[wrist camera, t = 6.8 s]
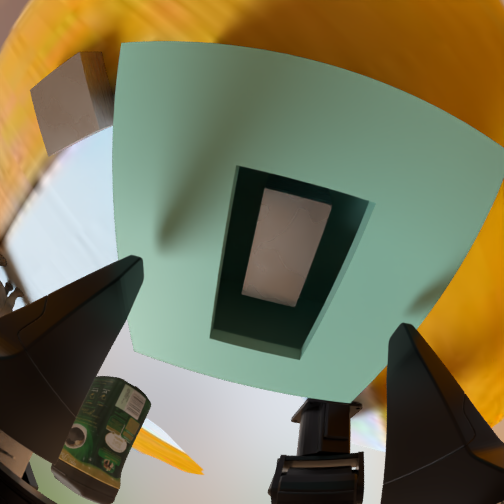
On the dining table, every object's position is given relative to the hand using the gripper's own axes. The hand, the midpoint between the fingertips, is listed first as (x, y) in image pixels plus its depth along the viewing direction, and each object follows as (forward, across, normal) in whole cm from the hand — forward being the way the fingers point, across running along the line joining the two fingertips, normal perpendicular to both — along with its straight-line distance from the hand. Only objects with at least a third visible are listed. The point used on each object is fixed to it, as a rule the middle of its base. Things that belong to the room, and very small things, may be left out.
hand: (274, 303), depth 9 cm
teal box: (+8, 0, 0) cm, 8 cm away
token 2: (+8, 0, 0) cm, 8 cm away
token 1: (+8, +14, -4) cm, 17 cm away
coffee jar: (+8, +15, +33) cm, 37 cm away
